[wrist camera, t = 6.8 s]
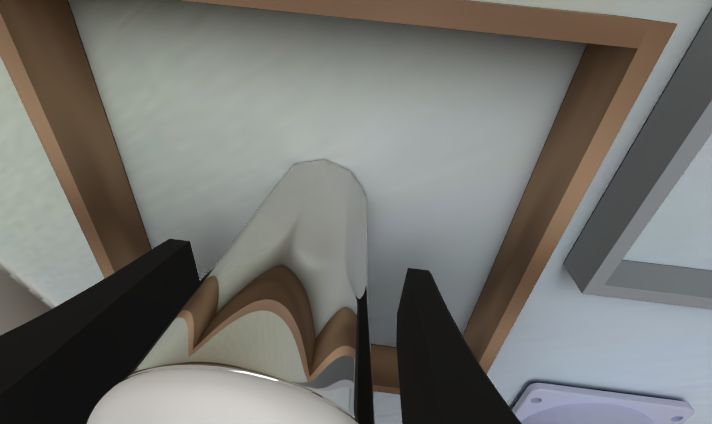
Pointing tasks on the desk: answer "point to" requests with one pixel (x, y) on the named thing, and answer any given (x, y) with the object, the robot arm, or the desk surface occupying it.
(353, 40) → the desk surface
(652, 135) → the grey square frame
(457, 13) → the brown wooden frame
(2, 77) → the desk surface
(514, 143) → the desk surface
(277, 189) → the milkshake
